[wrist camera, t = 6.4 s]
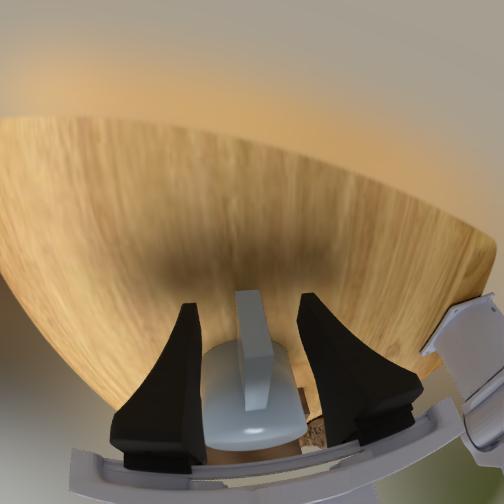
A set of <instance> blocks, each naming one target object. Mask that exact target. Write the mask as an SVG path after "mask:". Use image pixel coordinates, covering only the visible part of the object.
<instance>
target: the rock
mask: <svg viewBox="0 0 504 504" xmlns="http://www.w3.org/2000/svg"><path fill="white" fill-rule="evenodd" d="M307 427H308V430H307V432H306V433H305V434H304V435H303V436H301V437H299V438H298V439H299V443H300V447H301V448H302V447H314V446H317V447H319V448H321V449H326V448H327V440H326V433H325V425H324V419H323V417H322V418H320V419H316V420H314V421H312V422H311V423H309V424H307Z"/></svg>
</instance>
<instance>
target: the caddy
mask: <svg viewBox="0 0 504 504" xmlns="http://www.w3.org/2000/svg"><path fill="white" fill-rule="evenodd" d="M298 393H299V396H300V400H301V404H302V408H303V411H304V415H305V419H306V420H307V418H308V416H309V415H310V411H309V408H308V404H307V401H306V397H305V393H304V390H303V388H300V389H298ZM201 409H202V399H201ZM202 420H203V418H202ZM205 446H206V453H207V460H208V463H207V464H206V465H205V466H207V465H228V464H241V463H251V462H259V461H267V460H274V459H280V458H286V457H291V456H296V455H301V454H302V451H301V447H300V443H299V439H298V438H297V439H295V440H293V441H291V442H288V443H285V444H282V445H279V446H275V447H270V448H265V449H259V450H250V451H225V450H218V449H214V448H211V447H208V446H207V445H205Z"/></svg>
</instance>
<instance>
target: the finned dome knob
mask: <svg viewBox="0 0 504 504" xmlns="http://www.w3.org/2000/svg"><path fill="white" fill-rule="evenodd" d="M235 299H236V324H237V340H234V341H230V342H226V343H223V344H220V345H218V346H216V347H214V348H212V349H211V350H209V351H208V352H207V353H206V354H205V355H204V356H203V358H202V362H201V399H202V418H203V430H204V438H205V445H207V446H208V447H211V448H214V449H218V450H225V451H250V450H259V449H265V448H270V447H275V446H279V445H282V444H285V443H288V442H291V441H293V440H295V439H297V438H299V437H301V436H303V435H304V434H305V433H306V432H307V430H308V427H307V423H306V419H305V415H304V411H303V408H302V404H301V400H300V396H299V393H298V389H297V385H296V381H295V377H294V374H293V370H292V366H291V363H290V359H289V355H288V352H287V350H286V349H285V348H284V347H283V346H282V345H280V344H279V343H276V342H274V341H271V339H270V335H269V330H268V326H267V321H266V317H265V313H264V308H263V304H262V300H261V295H260V291H259V289H255V290H243V291H235Z"/></svg>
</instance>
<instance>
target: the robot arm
mask: <svg viewBox="0 0 504 504" xmlns="http://www.w3.org/2000/svg"><path fill="white" fill-rule="evenodd" d="M494 296H495V295H494V293H493V292H492V293H489V294H487V295H484V296H481V297H478V298H476V299H473V300H470V301H467V302H464V303H461V304H458V305H455V306H452V307H451V308H450V309H449V310H448V312H447V314H446V315H445V317H444V318H443V320H442V322H441V323H440V325H439V326H438V328H437V329H436V331H435V332H434V334H433V335H432V337H431V338H430V340H429V341H428V343H427V344H426V346H425V347H424V348H423V350H422V351H421V353H420V355H421V356H425V355H427V354H430V353H432V352H435V351H437V353H438V355H439V356H440V358H441V360H442V361H443V363H444V365H445V367H446V369H447V370H448V372H449V374H450V376H451V377H452V379H453V381H454V383H455V385H456V387H457V389H458V391H459V393H460V395H461V397H462V399H463V400H464V402H466V403H465V404H463V405H462V406H461V409H462V411H461V414H460V416H459V414H458V411H457V409H456V407H455V406H454V403H453V401H452V399H451V397H447V398H445V399H443V400H442V401H440V402H438V403H436V404H434V405H433V406H431V407H430V408H429V409H428V410H427V411H426V412H424V413H422V414H420V415H418V416H416V417H413V415H412V413H411V411H412V410H413V407H412V404H411V403H412V402H414V401H415V400H416V399H417V398H418V397H419V396H420V395H421V394H422V392H423V390H424V388H423V386H422V384H421V381H420V379H419V378H418V376H417V374H416V373H413V372H411V371H409V370H407V369H404V368H402V367H400V366H398V365H396V364H394V363H393V362H391V361H389V360H387V359H386V358H384V357H383V356H381V355H380V354H378V353H376V352H375V351H373V350H372V349H371V348H369V347H368V346H367V345H365V344H364V343H363V342H362V341H360V340H359V339H358V338H357V337H356V336H354V335H353V334H352V333H351V332H350V331H349V330H348V329H347V328H346V327H345V326H344V325H343V324H342V323H341V322H340V321H339V320H338V319H337V318H336V317H335V316H334V315H333V314H332V313H331V312H330V311H329V309H328V308H327V307H326V306H325V305H324V304H323V303H322V302H321V300H320V299H319V298H318V297H317V296H316V295H315V294H314V293H305V294H302V295H301V301H300V306H299V311H298V316H297V325H298V330H299V334H300V338H301V341H302V344H303V347H304V350H305V352H306V355H307V358H308V361H309V363H310V366H311V369H312V372H313V374H314V378H315V381H316V385H317V389H318V394H319V398H320V403H321V408H322V414H323V419H324V425H325V433H326V440H327V449H323V450H319V451H315V452H311V453H306V454H301V455H296V456H291V457H286V458H280V459H274V460H267V461H259V462H251V463H241V464H228V465H207V466H205V465H206V464H207V463H208V460H207V453H206V446H205V438H204V430H203V420H202V409H201V396H200V383H201V362H202V335H201V326H200V321H199V315H198V310H197V305H196V303H184V304H183V305H182V306H181V310H180V313H179V316H178V318H177V321H176V324H175V326H174V328H173V331H172V333H171V335H170V337H169V340H168V342H167V344H166V346H165V347H164V349H163V351H162V353H161V355H160V357H159V359H158V360H157V362H156V364H155V365H154V367H153V368H152V370H151V372H150V373H149V374H148V376H147V377H146V379H145V380H144V382H143V383H142V384H141V386H140V387H139V388H138V389H137V390H136V392H135V393H134V394H133V395H132V396H131V398H130V399H129V400H128V401H127V402H126V403H125V404H124V405H123V406H122V407H121V408H120V409H119V410H118V411H117V412H116V413H115V414H114V417H113V420H112V425H111V430H110V443H111V445H113V446H114V447H115V448H117V449H119V450H120V451H122V452H123V453H124V461H122V460H115V459H109V458H103V457H102V456H101V455H99V454H96V453H93V452H89V451H85V450H80V449H76V448H72V452H71V462H70V477H69V491H70V492H71V493H74V494H77V495H80V496H84V497H87V498H90V499H94V500H98V501H102V502H106V503H110V504H379V501H378V497H377V494H376V491H375V487H374V484H373V482H375V481H377V480H380V479H382V478H384V477H387V476H389V475H391V474H393V473H395V472H397V471H400V470H401V469H403V468H405V467H407V466H409V465H411V464H413V463H415V462H417V461H419V460H421V459H422V458H424V457H426V456H428V455H429V454H431V453H433V452H434V451H436V450H438V449H439V448H441V447H442V446H444V445H446V444H447V443H449V442H450V441H452V440H453V439H455V438H456V437H458V436H459V435H460V436H461V439H462V441H463V443H464V445H465V446H466V447H467V448H468V449H469V450H470V452H471V453H472V455H473V457H474V459H475V461H476V463H477V465H479V466H488V467H500V468H502V471H503V474H504V438H503V439H501V440H498V439H499V438H501V437H502V436H504V316H503V314H502V313H501V312H500V310H499V309H498V308H497V307H496V305H495V304H494V303H493V301H492V299H493V298H494ZM497 440H498V441H497ZM357 453H359V454H357ZM354 454H357V455H354ZM351 455H354V456H351ZM348 456H351V457H349V458H346V459H344V460H341V461H340V462H339V463H338V464H336V465H334V466H332V467H330V468H329V471H325V472H320V473H316V474H312V475H307V476H303V477H298V478H293V479H288V480H283V481H277V482H271V483H265V484H258V485H251V486H243V487H233V488H228V486H227V485H224V484H223V482H220V481H191V480H215V479H233V478H245V477H254V476H262V475H269V474H275V473H282V472H287V471H293V470H298V469H303V468H307V467H312V466H316V465H319V464H324V463H327V462H331V461H335V460H338V459H342V458H345V457H348Z"/></svg>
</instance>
